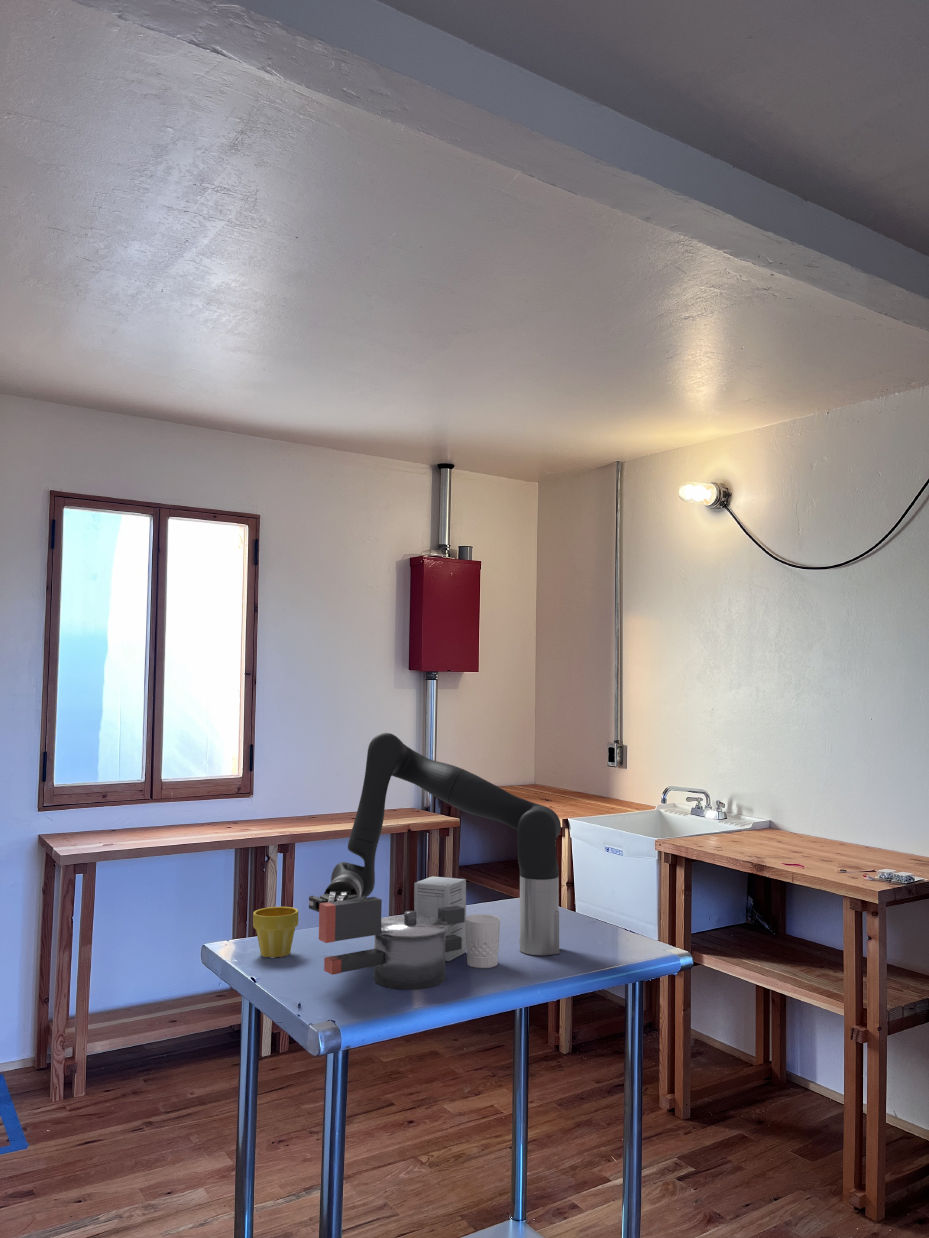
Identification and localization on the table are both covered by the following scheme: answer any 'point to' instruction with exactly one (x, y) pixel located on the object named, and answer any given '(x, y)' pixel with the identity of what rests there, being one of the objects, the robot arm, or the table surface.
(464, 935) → the supplement box
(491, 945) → the white cup
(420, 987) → the pot
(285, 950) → the plant pot
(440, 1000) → the table surface
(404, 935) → the lid
